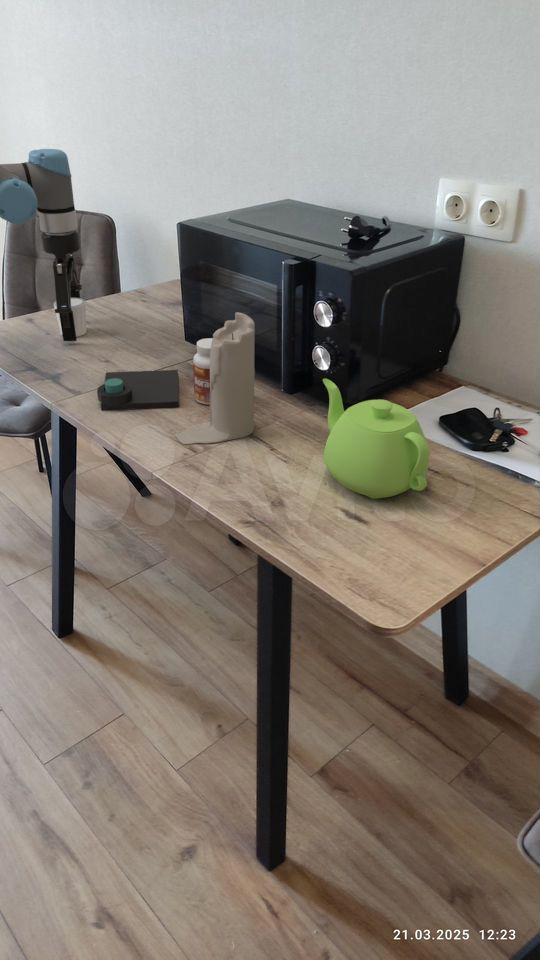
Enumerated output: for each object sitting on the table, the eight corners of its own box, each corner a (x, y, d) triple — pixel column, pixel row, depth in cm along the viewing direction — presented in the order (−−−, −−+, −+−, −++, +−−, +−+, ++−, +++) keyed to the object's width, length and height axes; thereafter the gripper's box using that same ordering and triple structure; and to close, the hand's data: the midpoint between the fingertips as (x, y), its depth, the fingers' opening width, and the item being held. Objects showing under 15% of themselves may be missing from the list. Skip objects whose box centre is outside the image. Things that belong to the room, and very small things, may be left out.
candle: (170, 430, 121) (162, 319, 110) (243, 416, 126) (243, 307, 115) (184, 450, 116) (177, 334, 105) (260, 434, 121) (262, 322, 110)
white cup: (53, 336, 156) (48, 306, 152) (64, 325, 161) (60, 296, 158) (82, 339, 155) (78, 308, 151) (93, 327, 161) (89, 298, 157)
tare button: (105, 394, 126) (104, 386, 125) (106, 387, 129) (105, 378, 128) (123, 394, 127) (122, 385, 126) (124, 386, 129) (123, 377, 128)
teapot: (286, 461, 113) (288, 387, 106) (352, 433, 121) (358, 363, 114) (387, 526, 99) (398, 445, 92) (454, 489, 107) (469, 413, 100)
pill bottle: (189, 403, 130) (187, 347, 124) (200, 389, 135) (198, 334, 129) (221, 408, 129) (220, 351, 122) (231, 393, 134) (231, 338, 127)
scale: (97, 412, 126) (95, 397, 125) (103, 377, 138) (102, 363, 137) (179, 408, 128) (178, 393, 126) (178, 375, 140) (177, 361, 138)
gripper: (48, 217, 156) (62, 311, 168) (31, 247, 136) (48, 351, 147) (83, 217, 157) (94, 310, 169) (71, 246, 136) (85, 350, 148)
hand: (73, 329), depth 158 cm, fingers open, 12 cm apart
